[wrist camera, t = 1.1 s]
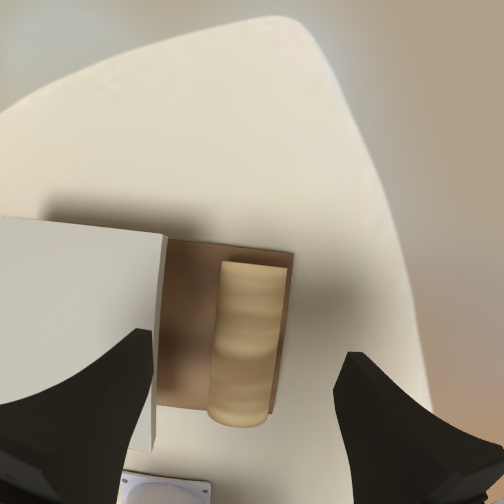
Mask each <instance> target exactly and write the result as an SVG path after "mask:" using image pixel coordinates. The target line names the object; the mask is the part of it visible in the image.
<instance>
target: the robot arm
mask: <svg viewBox="0 0 504 504" xmlns="http://www.w3.org/2000/svg"><path fill="white" fill-rule="evenodd" d="M153 374H154V364H153V343H152V331H151V330H146V329H140V328H135V329H134V330H133V331H131V332H130V333H129V334H128V335H127V336H125V337H124V338H123V339H122V340H121V341H119V342H118V343H117V344H116V345H115V346H113V347H112V348H111V349H110V350H108V351H107V352H106V353H105V354H103V355H102V356H101V357H100V358H98V359H97V360H95V361H94V362H93V363H91V364H90V365H88V366H87V367H86V368H84V369H83V370H81V371H80V372H78V373H77V374H75V375H73V376H72V377H70V378H68V379H66V380H64V381H63V382H61V383H59V384H57V385H54V386H52V387H50V388H48V389H46V390H43V391H41V392H39V393H36V394H34V395H31V396H28V397H25V398H22V399H19V400H16V401H12V402H9V403H4V404H0V504H116V502H117V496H118V490H119V485H120V486H121V493H122V500H123V504H210V496H211V484H210V483H208V482H202V481H190V480H180V479H172V478H164V477H157V476H150V475H144V474H138V473H133V472H127V471H122V470H123V466H124V462H125V458H126V453H127V449H128V446H129V443H130V440H131V438H132V435H133V432H134V430H135V427H136V425H137V422H138V420H139V417H140V415H141V412H142V409H143V407H144V404H145V402H146V399H147V397H148V394H149V390H150V386H151V382H152V378H153ZM333 396H334V404H335V411H336V415H337V419H338V423H339V427H340V430H341V434H342V437H343V441H344V445H345V448H346V452H347V456H348V460H349V465H350V470H351V478H352V486H353V498H354V504H485V503H484V501H486V500H487V499H488V496H487V494H486V491H487V490H488V489H489V488H490V487H491V486H492V485H493V484H494V483H495V482H496V481H497V480H498V479H499V478H501V477H502V475H503V474H504V449H503V447H502V446H501V445H498V444H495V443H491V442H488V441H485V440H482V439H479V438H477V437H474V436H472V435H470V434H468V433H465V432H463V431H461V430H459V429H457V428H455V427H453V426H451V425H450V424H448V423H446V422H444V421H443V420H441V419H440V418H438V417H437V416H435V415H434V414H432V413H431V412H429V411H428V410H426V409H425V408H424V407H422V406H421V405H420V404H418V403H417V402H416V401H415V400H414V399H412V398H411V397H410V396H409V395H408V394H406V393H405V392H404V391H403V390H402V389H401V388H400V387H399V386H397V385H396V384H395V383H394V382H393V381H392V380H391V379H390V378H389V377H388V376H387V375H386V374H385V373H384V372H383V371H382V370H381V369H380V368H379V367H378V366H377V365H376V364H375V363H374V362H373V361H372V360H371V359H370V358H369V357H367V356H366V355H365V354H364V353H363V352H348V353H347V355H346V358H345V361H344V363H343V366H342V368H341V371H340V374H339V376H338V379H337V381H336V384H335V386H334V388H333ZM124 479H126V480H127V481H126V480H124ZM203 490H207V491H203ZM492 504H504V497H503V498H501V499H499V500H497V501H495V502H494V503H492Z"/></svg>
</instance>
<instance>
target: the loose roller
mask: <svg viewBox="0 0 504 504" xmlns="http://www.w3.org/2000/svg"><path fill="white" fill-rule="evenodd" d="M286 276H287V268H281V267H273V266H265V265H257V264H248V263H239V262H229V261H222V265H221V273H220V283H219V292H218V301H217V311H216V321H215V330H214V341H213V351H212V362H211V373H210V384H209V396H208V408H207V413H208V415H209V416H210V417H211V418H212V419H213V420H214V421H216V422H218V423H220V424H223V425H226V426H231V427H238V428H248V427H254V426H258V425H260V424H262V423H264V422H265V421H266V419H267V415H268V409H269V402H270V396H271V389H272V382H273V375H274V368H275V361H276V354H277V347H278V340H279V332H280V324H281V317H282V309H283V301H284V293H285V284H286Z"/></svg>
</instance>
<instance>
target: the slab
mask: <svg viewBox="0 0 504 504" xmlns="http://www.w3.org/2000/svg"><path fill="white" fill-rule="evenodd" d="M167 242H168V236H166V235H164V234H159V233H150V232H141V231H132V230H124V229H115V228H106V227H97V226H88V225H79V224H70V223H61V222H52V221H42V220H33V219H24V218H14V217H5V216H0V404H4V403H9V402H12V401H16V400H19V399H22V398H25V397H28V396H31V395H34V394H36V393H39V392H41V391H43V390H46V389H48V388H50V387H52V386H54V385H57V384H59V383H61V382H63V381H64V380H66V379H68V378H70V377H72V376H73V375H75V374H77V373H78V372H80V371H81V370H83V369H84V368H86V367H87V366H88V365H90V364H91V363H93V362H94V361H95V360H97V359H98V358H100V357H101V356H102V355H103V354H105V353H106V352H107V351H108V350H110V349H111V348H112V347H113V346H115V345H116V344H117V343H118V342H119V341H121V340H122V339H123V338H124V337H125V336H127V335H128V334H129V333H130V332H131V331H133V330H134V329H135V328H140V329H146V330H151V331H152V343H153V364H154V374H153V378H152V382H151V386H150V390H149V394H148V397H147V399H146V402H145V404H144V407H143V409H142V412H141V415H140V417H139V420H138V422H137V425H136V427H135V430H134V432H133V435H132V438H131V440H130V443H129V446H128V449H131V450H137V451H143V452H149V453H152V449H153V445H154V441H155V437H156V388H157V361H158V342H159V326H160V312H161V300H162V289H163V278H164V268H165V259H166V250H167Z"/></svg>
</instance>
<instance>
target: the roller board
mask: <svg viewBox="0 0 504 504" xmlns="http://www.w3.org/2000/svg"><path fill="white" fill-rule="evenodd" d="M293 257H294V254H290V253H282V252H274V251H265V250H257V249H249V248H240V247H232V246H223V245H215V244H206V243H198V242H189V241H181V240H172V239H168V242H167V250H166V259H165V268H164V278H163V289H162V300H161V312H160V326H159V342H158V361H157V388H156V405H162V406H169V407H177V408H186V409H195V410H206V411H207V408H208V396H209V384H210V373H211V362H212V351H213V341H214V330H215V321H216V311H217V301H218V292H219V283H220V273H221V265H222V261H229V262H239V263H248V264H257V265H265V266H273V267H281V268H287V276H286V284H285V293H284V301H283V309H282V317H281V324H280V332H279V340H278V347H277V354H276V361H275V368H274V375H273V382H272V389H271V396H270V402H269V409H268V414H272V412H273V405H274V399H275V393H276V386H277V379H278V373H279V366H280V359H281V352H282V345H283V338H284V330H285V323H286V315H287V307H288V299H289V291H290V283H291V274H292V266H293Z"/></svg>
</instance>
